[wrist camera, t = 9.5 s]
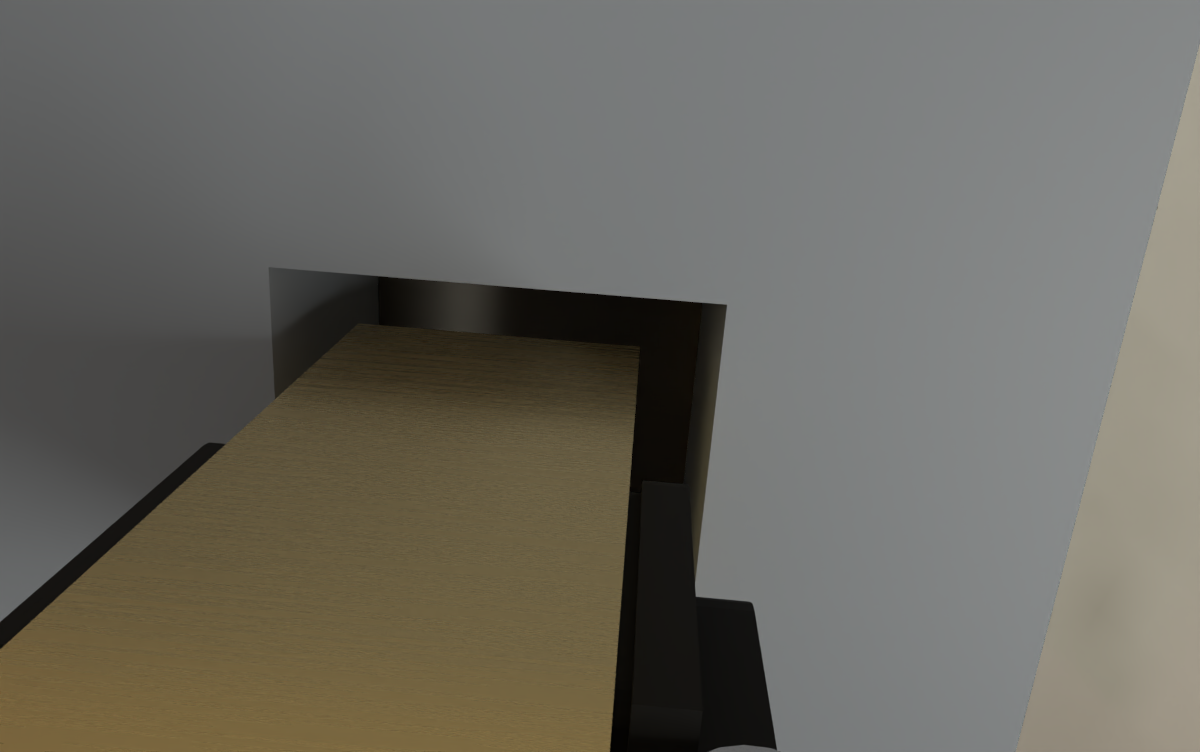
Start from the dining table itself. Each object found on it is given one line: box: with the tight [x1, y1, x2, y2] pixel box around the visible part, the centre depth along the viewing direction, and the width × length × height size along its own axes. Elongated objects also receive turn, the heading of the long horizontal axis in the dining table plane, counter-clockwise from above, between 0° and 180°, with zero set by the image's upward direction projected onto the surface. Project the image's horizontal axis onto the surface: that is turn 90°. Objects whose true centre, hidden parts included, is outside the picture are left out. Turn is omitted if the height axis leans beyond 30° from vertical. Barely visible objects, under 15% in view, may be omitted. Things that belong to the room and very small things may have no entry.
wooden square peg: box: [0, 323, 640, 752], centre depth 8 cm, size 4×4×12 cm
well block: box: [0, 0, 1200, 752], centre depth 16 cm, size 16×16×5 cm
